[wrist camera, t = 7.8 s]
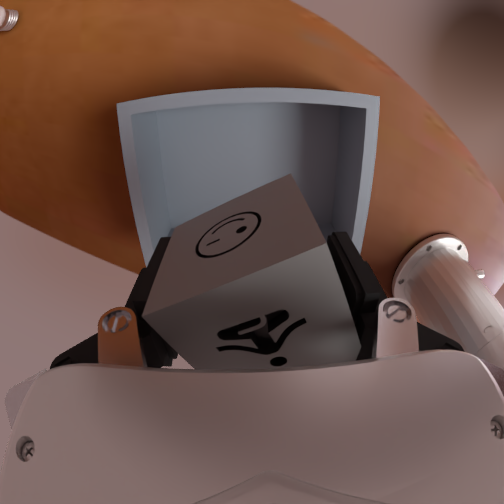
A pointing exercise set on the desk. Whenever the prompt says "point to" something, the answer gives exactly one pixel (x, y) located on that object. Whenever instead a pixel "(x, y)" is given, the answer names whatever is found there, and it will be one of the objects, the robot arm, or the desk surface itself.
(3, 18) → the lightbulb
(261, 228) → the dice cube
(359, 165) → the box
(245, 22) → the desk surface
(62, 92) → the desk surface
